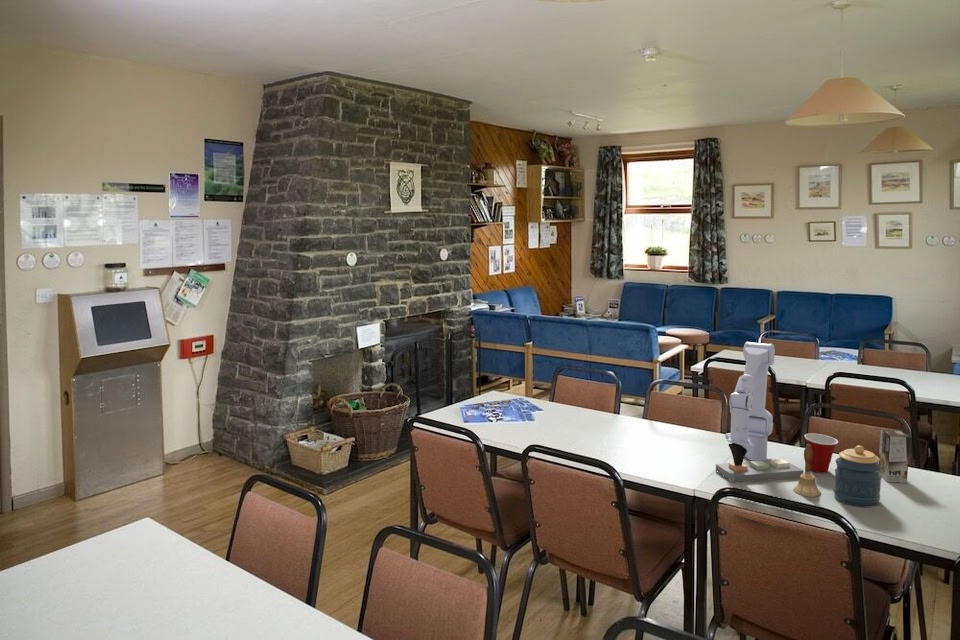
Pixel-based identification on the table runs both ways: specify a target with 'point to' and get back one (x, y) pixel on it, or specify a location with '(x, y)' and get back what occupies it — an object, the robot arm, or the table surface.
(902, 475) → the coffee box
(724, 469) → the keypad
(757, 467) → the sage key
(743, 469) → the terracotta key
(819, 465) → the plastic cup
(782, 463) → the cream key
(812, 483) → the hand bell
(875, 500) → the canister
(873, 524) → the table surface
